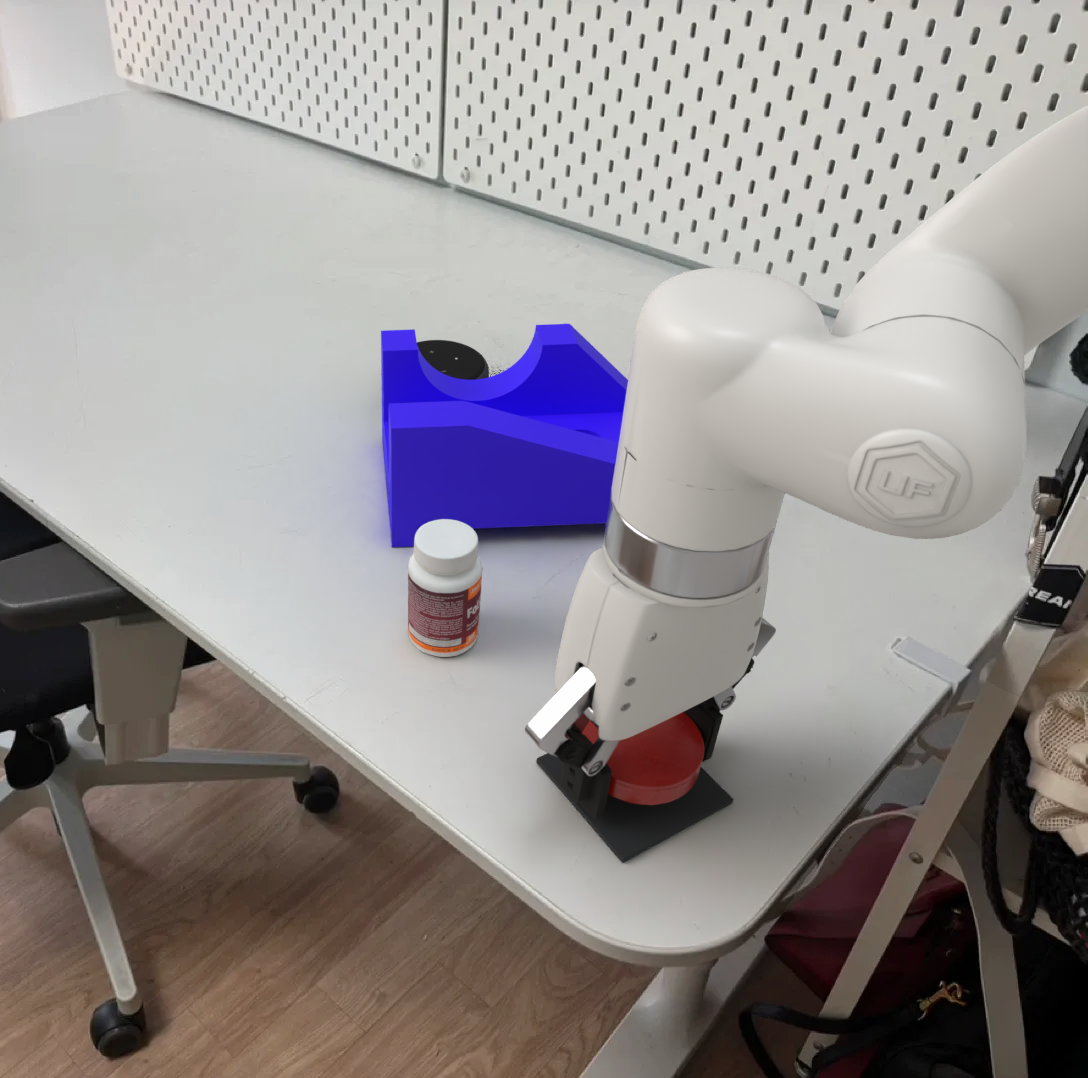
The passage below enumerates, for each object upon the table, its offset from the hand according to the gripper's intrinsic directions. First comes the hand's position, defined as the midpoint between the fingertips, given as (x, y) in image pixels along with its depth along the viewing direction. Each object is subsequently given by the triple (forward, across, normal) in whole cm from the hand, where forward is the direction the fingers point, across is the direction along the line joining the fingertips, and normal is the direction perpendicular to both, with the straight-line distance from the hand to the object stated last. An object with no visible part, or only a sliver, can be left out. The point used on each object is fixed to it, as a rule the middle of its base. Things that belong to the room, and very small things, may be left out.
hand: (636, 769), depth 63 cm
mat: (+1, 0, 0) cm, 1 cm away
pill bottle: (+1, +3, -16) cm, 16 cm away
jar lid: (-2, 0, 0) cm, 2 cm away
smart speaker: (+1, -12, -41) cm, 43 cm away
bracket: (+1, -11, -27) cm, 29 cm away
